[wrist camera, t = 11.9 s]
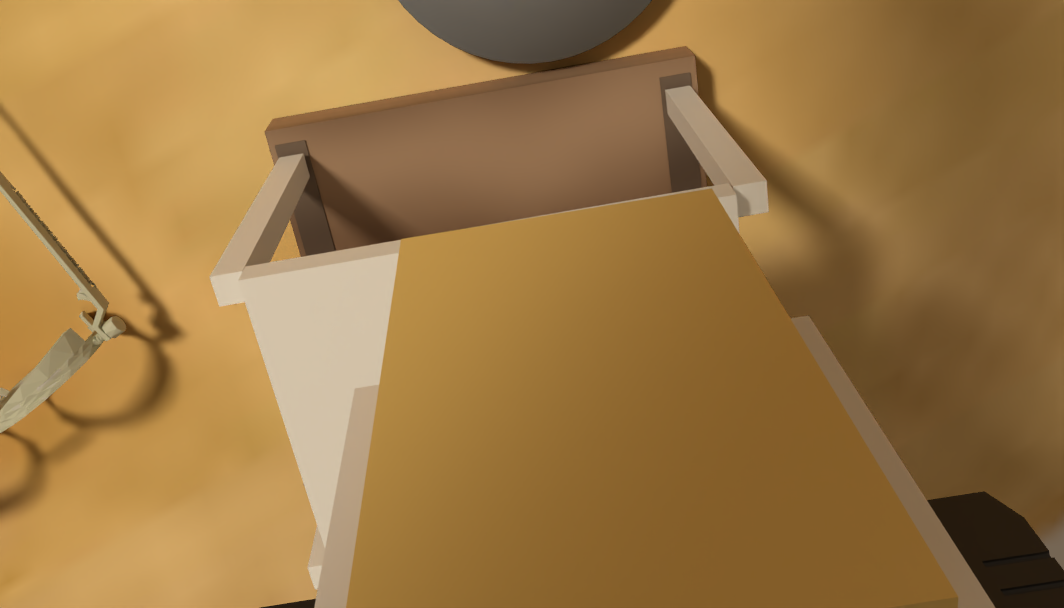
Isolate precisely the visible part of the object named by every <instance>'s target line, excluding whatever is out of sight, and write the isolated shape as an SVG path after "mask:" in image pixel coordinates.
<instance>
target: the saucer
mask: <svg viewBox="0 0 1064 608" xmlns="http://www.w3.org/2000/svg"><path fill="white" fill-rule="evenodd" d="M651 1H652V0H399V2H400V3H401V4H402V6H403V7H404V8H405V9H406V10H407V11H408V12H409V13H410V14H411V15H412V16H413V17H414V18H415V19H416V20H417V21H418V22H419V23H420V24H422V25H423V26H424V27H425V28H427V29H428V30H429V31H430V32H432V33H433V34H434V35H436V36H437V37H439V38H440V39H442V40H444V41H445V42H447V43H449V44H450V45H452V46H454V47H456V48H459V49H461V50H463V51H465V52H468V53H470V54H473V55H476V56H479V57H483V58H486V59H490V60H494V61H501V62H507V63H528V64H533V63H542V62H551V61H556V60H560V59H564V58H568V57H572V56H574V55H577V54H580V53H582V52H585V51H587V50H590V49H592V48H594V47H596V46H598V45H599V44H601V43H603V42H605V41H607V40H609V39H610V38H611V37H613V36H614V35H616V34H617V33H618V32H620V31H621V30H623V29H624V28H625V27H627V26H628V25H629V24H630V23H631V22H632V21H633V20H634V19H635V18H636V17H637V16H638V15H639V14H640V13H642V11H643V10H644V9H645V8H646V7H647V5H648V4H649V3H650V2H651Z"/></svg>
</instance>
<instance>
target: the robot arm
mask: <svg viewBox="0 0 1064 608" xmlns="http://www.w3.org/2000/svg"><path fill="white" fill-rule="evenodd" d="M790 319H791V320H792V322H793V324H794V325H795V327H796V329H797V330H798V332H799V334H800V335H801V337H802V339H803V340H804V342H805V344H806V345H807V347H808V348H809V350H810V352H811V353H812V355H813V357H814V358H815V360H816V362H817V363H818V365H819V367H820V368H821V370H822V372H823V373H824V375H825V377H826V378H827V380H828V382H829V383H830V385H831V387H832V388H833V390H834V392H835V393H836V395H837V397H838V398H839V400H840V402H841V403H842V405H843V406H844V408H845V410H846V411H847V413H848V415H849V416H850V418H851V420H852V421H853V423H854V425H855V426H856V428H857V430H858V431H859V433H860V435H861V436H862V438H863V440H864V441H865V443H866V445H867V446H868V448H869V450H870V451H871V453H872V455H873V456H874V458H875V460H876V461H877V463H878V464H879V466H880V468H881V469H882V471H883V473H884V474H885V476H886V478H887V479H888V481H889V483H890V484H891V486H892V488H893V489H894V491H895V493H896V494H897V496H898V498H899V499H900V501H901V503H902V504H903V506H904V508H905V509H906V511H907V513H908V514H909V516H910V517H911V519H912V521H913V522H914V524H915V526H916V527H917V529H918V531H919V532H920V534H921V536H922V537H923V539H924V541H925V542H926V544H927V546H928V547H929V549H930V551H931V552H932V554H933V556H934V557H935V559H936V561H937V562H938V564H939V566H940V567H941V569H942V571H943V572H944V574H945V575H946V577H947V579H948V580H949V582H950V584H951V585H952V587H953V589H954V590H955V592H956V594H957V595H958V608H1064V570H1063V569H1062V568H1061V566H1060V565H1059V564H1058V562H1057V561H1056V560H1055V558H1051V557H1050V555H1049V550H1048V549H1047V548H1046V546H1045V545H1044V544H1043V542H1042V541H1041V540H1040V538H1039V537H1038V536H1037V534H1036V533H1035V532H1034V530H1033V529H1032V528H1031V526H1030V525H1029V524H1028V522H1027V521H1026V520H1025V519H1024V517H1022V516H1021V515H1019V514H1018V513H1016V512H1015V511H1013V510H1012V509H1010V508H1009V507H1007V506H1006V505H1004V504H1003V503H1001V502H999V501H998V500H996V499H995V498H993V497H992V496H990V495H989V494H987V493H986V492H978V493H971V494H965V495H958V496H952V497H946V498H939V499H933V500H926V498H925V497H924V495H923V494H922V492H921V490H920V489H919V487H918V486H917V484H916V483H915V481H914V479H913V478H912V476H911V475H910V473H909V472H908V470H907V468H906V467H905V465H904V464H903V462H902V461H901V459H900V458H899V456H898V454H897V453H896V451H895V450H894V448H893V447H892V445H891V443H890V442H889V440H888V439H887V437H886V436H885V434H884V432H883V431H882V429H881V428H880V426H879V425H878V423H877V421H876V420H875V418H874V417H873V415H872V414H871V412H870V411H869V409H868V407H867V406H866V404H865V403H864V401H863V400H862V398H861V396H860V395H859V393H858V392H857V390H856V389H855V387H854V385H853V384H852V382H851V381H850V379H849V378H848V376H847V375H846V373H845V371H844V370H843V368H842V367H841V365H840V364H839V362H838V360H837V359H836V357H835V356H834V354H833V353H832V351H831V349H830V348H829V346H828V345H827V343H826V342H825V340H824V338H823V337H822V335H821V334H820V332H819V331H818V329H817V328H816V326H815V324H814V323H813V321H812V320H811V318H810V317H809V315H808V316H802V317H796V318H790ZM378 389H379V385H373V386H367V387H360V388H355V390H354V396H353V401H352V407H351V412H350V417H349V423H348V428H347V434H346V439H345V444H344V450H343V455H342V461H341V466H340V471H339V477H338V482H337V488H336V493H335V498H334V504H333V509H332V515H331V520H330V525H329V531H328V536H327V542H326V547H325V552H324V558H323V563H322V569H321V574H320V580H319V585H318V590H317V596H316V599H312V600H306V601H299V602H293V603H287V604H280V605H274V606H268V607H261V608H346V604H347V597H348V591H349V584H350V577H351V570H352V564H353V557H354V550H355V544H356V537H357V530H358V524H359V517H360V510H361V503H362V497H363V490H364V483H365V477H366V470H367V463H368V457H369V450H370V443H371V436H372V430H373V423H374V416H375V410H376V403H377V396H378Z"/></svg>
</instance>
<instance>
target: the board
mask: <svg viewBox="0 0 1064 608" xmlns="http://www.w3.org/2000/svg"><path fill="white" fill-rule="evenodd" d="M684 86H691V87H692V89H693V90H694V91H695V92H696V94H697V95H698V84H697V73H696V62H695V55H694V54H693V53H692V52H691V51H690V50H689V49H688V48H687V47H686V46H684V47H678V48H673V49H667V50H661V51H656V52H650V53H644V54H639V55H633V56H627V57H622V58H616V59H610V60H605V61H599V62H593V63H588V64H582V65H576V66H571V67H565V68H559V69H554V70H548V71H542V72H537V73H531V74H525V75H520V76H514V77H509V78H503V79H497V80H492V81H486V82H480V83H475V84H469V85H463V86H458V87H452V88H446V89H441V90H435V91H429V92H424V93H418V94H412V95H407V96H401V97H395V98H390V99H384V100H378V101H373V102H367V103H361V104H356V105H350V106H344V107H339V108H333V109H327V110H322V111H316V112H310V113H305V114H299V115H293V116H288V117H282V118H276V119H273V120H272V121H271V123H270V124H269V126H268V127H267V129H266V130H265V135H266V138H267V142H268V145H269V149H270V152H271V155H272V159H273V162H274V166H275V164H276V162H277V160H278V159H279V158H280V157H285V156H291V155H297V154H302V153H303V154H304V157H305V161H306V164H307V168H308V172H309V175H310V177H309V180H308V182H307V184H306V186H305V188H304V190H303V192H302V195H301V197H300V199H299V201H298V203H297V205H296V207H295V210H294V212H293V214H292V216H291V218H290V221H291V224H292V228H293V231H294V235H295V238H296V241H297V245H298V248H299V252H300V255H301V257H304V256H310V255H316V254H321V253H327V252H333V251H339V250H344V249H350V248H356V247H362V246H368V245H373V244H379V243H385V242H391V241H396V240H401V239H405V238H411V237H417V236H423V235H429V234H435V233H441V232H448V231H454V230H460V229H466V228H472V227H477V226H483V225H489V224H495V223H501V222H506V221H512V220H518V219H524V218H530V217H535V216H541V215H547V214H553V213H558V212H564V211H570V210H576V209H582V208H587V207H593V206H599V205H605V204H610V203H616V202H622V201H628V200H634V199H639V198H645V197H651V196H657V195H663V194H668V193H674V192H680V191H686V190H691V189H697V188H703V187H707V181H706V172H705V170H704V169H703V167H702V166H701V164H700V163H699V161H698V160H697V158H696V157H695V155H694V154H693V152H692V150H691V149H690V147H689V146H688V144H687V143H686V141H685V140H684V138H683V137H682V135H681V134H680V132H679V131H678V129H677V128H676V126H675V124H674V123H673V121H672V120H671V118H670V117H669V115H668V112H667V103H666V94H665V90H667V89H672V88H678V87H684ZM698 96H699V95H698Z"/></svg>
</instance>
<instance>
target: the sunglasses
mask: <svg viewBox="0 0 1064 608" xmlns="http://www.w3.org/2000/svg"><path fill="white" fill-rule="evenodd" d="M13 189H14V190H16V188H14V187H13V186H12V184H11V183H10V182H9V181H8V180H7V179H6V177H5V176H4V175H3V174H2V173H1V172H0V191H1V192H2V194H3V195H4V196H5V197H6V199H7V200H8V201H9V202H10V203H11V205H12V206H13V207H14V208H15V210H16V211H17V212H18V213H19V214H20V216H21V217H22V218H23V219H24V221H25V222H26V223H27V224H28V225H29V227H30V228H31V229H32V230H33V231H34V233H35V234H36V235H37V236H38V238H39V239H40V240H41V241H42V242H43V244H44V245H45V246H46V247H47V249H48V250H49V251H50V252H51V253H52V255H53V256H54V257H55V258H56V260H57V261H58V262H59V263H60V264H61V266H62V267H63V268H64V269H65V270H66V272H67V273H68V274H69V275H70V277H71V278H72V279H73V280H74V281H75V283H76V284H77V285H78V286H79V288H80V290H79V292H78V293H77V298H78V300H81V299H82V300H87V301H91V302H92V303H93V304H94V306H95V307H96V308H97V313H96V316H95V319H94V320H93V319H92V318H91V317H90V316H89V315H88V314H87V313H86V312H85V311H82V312H81V314H80V316H79V317H80V318H81V319H82V320H83V321H84V322H85V323H86V324H87V326H88V329H90V330H91V331H92V334H91V335H90V336H89V338H88V339H87V340H86V341H84V340H83V339H82V338H81V337H80V336H79V335H78V334H77V333H75V332H74V331H73V330H72V329H71V328H70V329H68V330H67V331H65V332H64V333H63V334H62V335H61V336H60V338H59V339H58V340H57V341H56V343H55V344H54V345H53V346H52V348H51V349H50V350H49V351H48V353H47V354H46V355H45V356H44V357H43V359H42V360H41V361H40V362H39V364H38V365H37V366H36V367H35V368H34V369H33V370H32V371H31V372H30V373H28V374H27V375H26V376H25V377H24V378H23V379H22V380H21V381H20V382H19V383H18V384H17V385H16V386H14V387H13V388H12V389H11V390H10V391H8V390H6V389H3V388H0V396H1V397H0V433H1V432H3V431H4V430H6V429H8V428H9V427H11V426H12V425H14V424H15V423H17V422H18V421H19V420H21V419H22V418H23V417H25V416H26V415H27V414H29V413H30V412H31V411H32V410H34V409H35V408H36V407H37V406H38V405H40V404H41V403H42V402H43V401H45V400H46V399H47V398H48V397H49V396H50V395H52V394H53V393H54V392H55V391H56V390H57V389H58V388H59V387H60V386H61V385H63V384H64V383H65V382H66V381H67V380H68V379H69V378H70V377H71V376H72V375H73V374H74V373H75V372H76V371H77V370H78V369H79V368H80V367H81V366H82V365H83V364H84V363H85V362H86V361H87V360H88V359H89V358H90V357H91V356H92V355H93V354H94V352H95V351H96V350H97V349H98V348H99V347H100V345H101V344H102V343H103V341H105V340H106V341H108V340H110V339H111V338H116V337H117V336H119V335H120V334H121V333H123V332H124V331H125V330H126V325H125V323H124V321H123V320H122V319H121V318H119V317H117V316H113V317H111V318H110V319H108V320H107V321H106V322H105V321H104V320H103V319H104V316H105V313H106V310H107V307H108V304H109V302H108V301H107V300H106V299H105V297H104V296H103V295H102V294H101V292H100V291H99V290H98V289H97V288H96V285H95V284H94V283H92V281H91V280H90V278H89V277H88V276H87V275H86V274H85V273H84V271H83V269H81V268H80V267H79V268H78V266H79V264H78V265H77V264H76V261H75V260H74V259H73V258H71V257H72V256H71V257H70V255H69V253H68V252H67V250H65V249H64V248H65V247H63V246H62V245H61V244H60V242H58V241H57V240H58V239H57V238H56V236H55V235H54V236H55V237H54V236H53V234H52V232H51V231H50V230H48V226H46V225H45V224H44V223H43V222H42V221H40V219H39V218H40V217H38V215H36V214H37V213H34V210H32V208H30V206H29V205H28V204H27V203H26V200H25V199H24V198H23V197H22V195H21V194H20V193H19V191H17V192H16V193H15V191H14V190H13ZM71 260H72V261H71ZM86 280H87V281H86ZM91 284H92V285H94V287H91ZM2 397H4V398H3V399H2ZM1 399H2V400H1Z"/></svg>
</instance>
